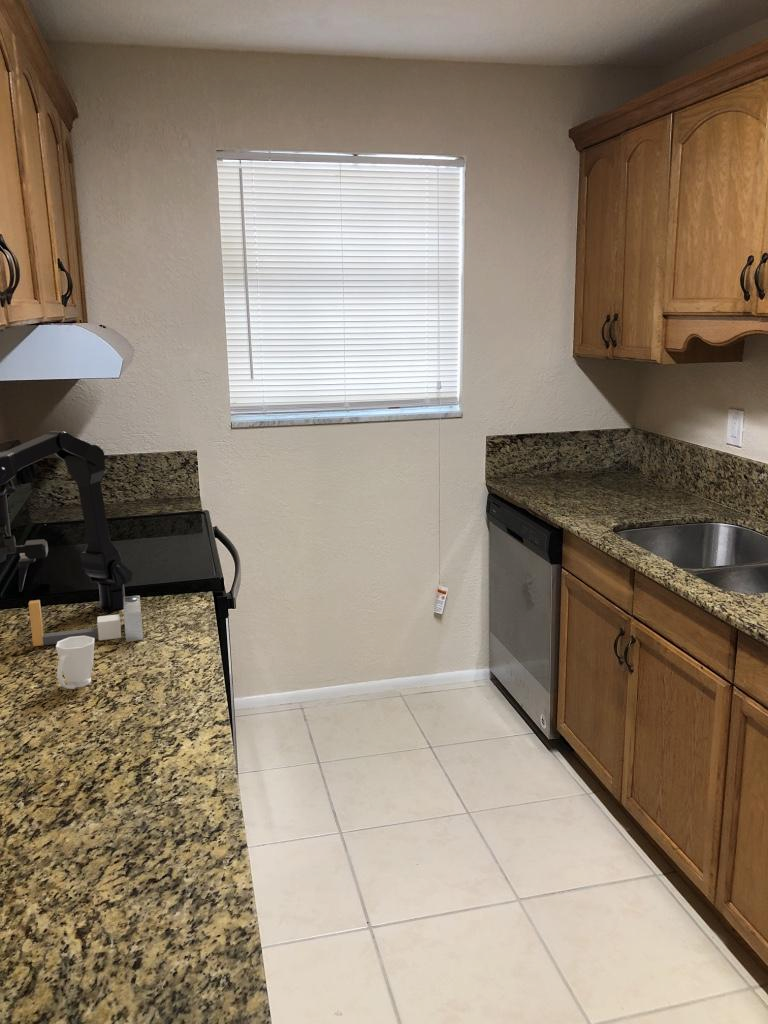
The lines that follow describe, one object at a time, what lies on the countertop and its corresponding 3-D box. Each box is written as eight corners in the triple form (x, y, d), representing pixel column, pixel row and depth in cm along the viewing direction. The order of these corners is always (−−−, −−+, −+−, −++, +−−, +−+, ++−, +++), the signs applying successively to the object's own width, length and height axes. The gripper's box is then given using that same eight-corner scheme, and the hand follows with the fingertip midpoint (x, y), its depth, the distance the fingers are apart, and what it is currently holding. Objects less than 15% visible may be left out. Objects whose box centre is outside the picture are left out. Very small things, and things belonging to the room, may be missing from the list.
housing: (126, 641, 174) (123, 612, 173) (125, 623, 185) (123, 596, 184) (143, 639, 175) (140, 610, 174) (141, 621, 186) (139, 594, 185)
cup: (105, 676, 156) (102, 635, 154) (80, 698, 146) (75, 655, 145) (71, 674, 157) (67, 634, 155) (43, 696, 147) (38, 654, 146)
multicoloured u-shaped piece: (32, 648, 171) (28, 605, 169) (34, 641, 174) (30, 599, 172) (121, 637, 176) (117, 596, 174) (121, 631, 179) (117, 590, 178)
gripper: (-67, 530, 155) (-57, 609, 158) (39, 522, 161) (47, 599, 164) (-56, 519, 166) (-46, 593, 169) (44, 512, 171) (51, 584, 174)
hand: (1, 593), depth 169 cm, fingers open, 7 cm apart
